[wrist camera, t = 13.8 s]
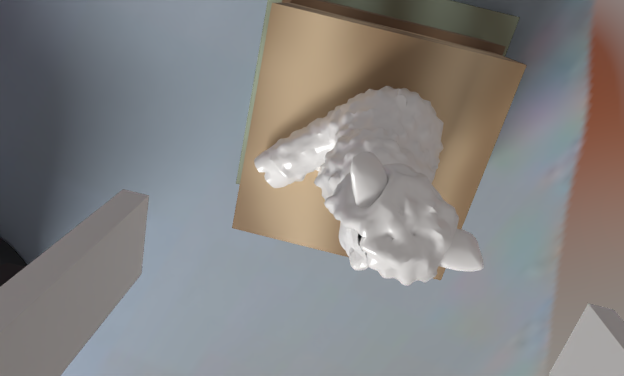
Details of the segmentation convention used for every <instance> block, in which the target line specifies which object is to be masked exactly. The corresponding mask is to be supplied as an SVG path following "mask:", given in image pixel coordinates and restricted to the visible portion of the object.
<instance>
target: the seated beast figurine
mask: <svg viewBox="0 0 624 376" xmlns="http://www.w3.org/2000/svg"><path fill="white" fill-rule="evenodd" d="M443 124H444V123H443V122H442V121H441V120H440V119H439V118H438V117H437V116H436V111H435V109H434V108H433V107H432V106H431V102H430V101H428V100H424V99H422V98H421V97H420V96H419V94H418V93H416V92H411V91H409V90H408V89H407V88H402V89H399V88H398V89H394V88H392V87H390V86H385V87H383V88H381V89H380V90H372V89H368V90H367V91H366V92H365V93H360V94H358V95H356V96H355V97H354V98H350V99H348V101H347V103H346V104H342V105H339V106H336V107H335V109H334V110H331V111H329V112H328V114H327V116H326V117H324V118H317V119H315V120H314V121H312V122H311V123H309V124H308V126H307V127H303V128H302V129H299V130H296V131H294V132H292V133H291V135H290V136H289V137H287V138H281V139H279V140H278V141H277V143H275V144H274V145H273V146H272V147H270V148H269V149H267V150H265V151H263V152H262V153H261V154H260V155H258V156H257V157H256V158H255V159H254V164H255V167H256V168H257V170H258V171H259V172H265V175H264V177H265V180H266V181H267V182H268V183H269V184H270V185H271V186H272V187H273V188H281V187H285V186H287V185H288V184H292V183H293V182H295V181H303V180H304V178H305V176H306V174H307V173H310V172H314V171H315V170H317V171H319V172H318V176H317V177H316V179H315V181H314V184H315V185H316V186H318V187H320V188H321V189H322V197H323V198H324V199H325V202H324V205H325V207H326V208H327V209H328V210H329V212H330V213H332V214H334V217H335V219H336V220H340V230H339V235H338V236H339V241H340V244H341V246H342V247H343V249H344V250H346V253H347V255H348V256H349V259H350V263H351V266H352V268H353V269H355V270H357V271H358V270H365V269H367V268H368V267H369V268H372V269H374V270H377V271H378V272H379V273H380V275H381V276H382V277H383V278H396V279H397V280H399V281H400V282H401V284H403V285H406V286H408V285H411V284H412V283H413V282H414V281H417V280H420V281H422V282H425V283H426V282H427V281H428V280H430V279H432V278H434V277H435V276H436V275H437V269H438V267H439V266H440V267H444V268H448V269H453V270H457V271H478V270H481V269H482V268H484V267H483V259H482V255H481V252H480V249H479V245H478V242H477V240H476V238H475V237H474V236H473V235H472V234H471V233H469V232H467V231H465V230H462V229H457V225H458V221H459V217H458V215H457V214H456V210H455V207H453V206H451V205H450V204H448V203H447V202H446V201H445V200H444V199H443V198H442V197H441V195H440V193H439V192H438V191H437V190H436V189H435V188H434V187H433V185H432V184H431V183H432V181H433V180H434V177H435V173H436V169H438V164H439V162H440V160H439V153H440V152H441V151H442V150H443V149H444V148H443V145H442V142H441V136H442V131H443Z"/></svg>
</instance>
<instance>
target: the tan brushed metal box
mask: <svg viewBox="0 0 624 376" xmlns="http://www.w3.org/2000/svg"><path fill="white" fill-rule="evenodd" d="M519 18H520V17H516V16H512V15H508V14H504V13H500V12H496V11H492V10H488V9H483V8H479V7H475V6H471V5H467V4H463V3H459V2H455V1H451V0H268V2H267V8H266V14H265V19H264V25H263V31H262V37H261V42H260V48H259V54H258V60H257V65H256V71H255V77H254V83H253V89H252V94H251V100H250V106H249V112H248V117H247V123H246V129H245V135H244V140H243V146H242V152H241V158H240V163H239V169H238V175H237V181H236V184H240V186H239V192H238V198H237V203H236V209H235V215H234V220H233V226H232V228H234V229H238V230H242V231H246V232H250V233H254V234H258V235H262V236H266V237H270V238H274V239H278V240H282V241H286V242H290V243H294V244H298V245H302V246H306V247H310V248H314V249H318V250H322V251H326V252H330V253H334V254H338V255H342V256H346V257H349V256H348V255H347V253H346V250H344V249H343V247H342V246H341V244H340V241H339V236H338V235H339V230H340V220H336V219H335V217H334V214H332V213H330V212H329V210H328V209H327V208H326V207H325V205H324V202H325V199H324V198H323V197H322V189H321V188H320V187H318V186H316V185H315V184H314V181H315V179H316V177H317V176H318V172H319V171H317V170H315V171H314V172H310V173H307V174H306V176H305V178H304V180H303V181H295V182H293V183H292V184H288V185H287V186H285V187H281V188H273V187H272V186H271V185H270V184H269V183H268V182H267V181H266V180H265V177H264V175H265V172H259V171H258V170H257V168H256V167H255V164H254V159H255V158H256V157H257V156H258V155H260V154H261V153H262V152H263V151H265V150H267V149H269V148H270V147H272V146H273V145H274V144H275V143H277V141H278V140H279V139H281V138H287V137H289V136H290V135H291V133H292V132H294V131H296V130H299V129H302V128H303V127H307V126H308V124H309V123H311V122H312V121H314V120H315V119H317V118H324V117H326V116H327V114H328V112H329V111H331V110H334V109H335V107H336V106H339V105H342V104H346V103H347V101H348V99H350V98H354V97H355V96H356V95H358V94H360V93H365V92H366V91H367V90H368V89H372V90H380V89H381V88H383V87H385V86H390V87H392V88H394V89H398V88H399V89H402V88H407V89H408V90H409V91H411V92H416V93H418V94H419V96H420V97H421V98H422V99H424V100H428V101H430V102H431V106H432V107H433V108H434V109H435V111H436V116H437V117H438V118H439V119H440V120H441V121H442V122H443V123H444V124H443V131H442V136H441V142H442V145H443V148H444V149H443V150H442V151H441V152H440V153H439V160H440V162H439V164H438V169H436V173H435V177H434V180H433V181H432V183H431V184H432V185H433V187H434V188H435V189H436V190H437V191H438V192H439V193H440V195H441V197H442V198H443V199H444V200H445V201H446V202H447V203H448V204H450V205H451V206H453V207H455V210H456V214H457V215H458V217H459V221H458V225H457V229H461V228H462V226H463V223H464V221H465V218H466V216H467V213H468V211H469V208H470V206H471V203H472V201H473V198H474V196H475V193H476V191H477V188H478V186H479V183H480V181H481V178H482V176H483V173H484V171H485V168H486V166H487V163H488V161H489V158H490V156H491V153H492V151H493V148H494V146H495V143H496V141H497V138H498V136H499V133H500V131H501V128H502V126H503V123H504V121H505V118H506V116H507V113H508V111H509V108H510V106H511V103H512V101H513V98H514V95H515V93H516V90H517V88H518V85H519V83H520V80H521V78H522V75H523V73H524V70H525V68H526V65H525V64H523V63H520V62H517V61H515V60H512V59H509V58H507V57H505V55H506V52H507V50H508V47H509V44H510V42H511V39H512V37H513V34H514V31H515V29H516V26H517V23H518V21H519ZM444 271H445V268H444V267H440V266H439V267H438V269H437V275H436V276H435V277H434V279H438V280H441V278H442V276H443V273H444Z"/></svg>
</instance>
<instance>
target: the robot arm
mask: <svg viewBox="0 0 624 376" xmlns="http://www.w3.org/2000/svg"><path fill="white" fill-rule="evenodd" d="M148 199H149V195H145V194H141V193H137V192H132V191H128V190H124V189H123V190H122V191H120V192H119V193H118V194H117V195H115V196H114V197H113V198H112V199H110V200H109V201H108V202H107V203H105V204H104V205H103V206H101V207H100V208H99V209H98V210H96V211H95V212H94V213H93V214H91V215H90V216H89V217H88V218H86V219H85V220H84V221H83V222H81V223H80V224H79V225H78V226H76V227H75V228H74V229H73V230H71V231H70V232H69V233H67V234H66V235H65V236H64V237H62V238H61V239H60V240H59V241H57V242H56V243H55V244H54V245H52V246H51V247H50V248H49V249H47V250H46V251H45V252H44V253H42V254H41V255H40V256H38V257H37V258H36V259H35V260H33V261H32V262H31V263H30V264H28V265H26V264H25V263H24V261H23V260H22V259H21V257H20V256H19V255H18V254H17V253H16V252H15V251H14V250H13V249H12V248H11V247H10V246H9V245H8V244H7V243H6V242H4V241H3V240H2V239H0V376H60V375H61V374H62V373H63V372H64V370H65V369H66V368H67V367H68V365H69V364H70V363H71V362H72V360H73V359H74V358H75V357H76V355H77V354H78V353H79V352H80V350H81V349H82V348H83V347H84V345H85V344H86V343H87V342H88V340H89V339H90V338H91V337H92V335H93V334H94V333H95V332H96V330H97V329H98V328H99V327H100V325H101V324H102V323H103V322H104V320H105V319H106V318H107V317H108V315H109V314H110V313H111V312H112V310H113V309H114V308H115V306H116V305H117V304H118V303H119V301H120V300H121V299H122V298H123V296H124V295H125V294H126V293H127V291H128V290H129V289H130V288H131V286H132V285H133V284H134V283H135V281H136V280H137V279H138V278H139V276H140V275H141V273H142V262H143V252H144V241H145V231H146V220H147V210H148ZM549 375H550V376H624V321H623V320H622V319H621V317H620V316H619V315H618V314H617V313H616V311H615V310H613V309H609V308H605V307H601V306H597V305H593V304H588V305H587V307H586V309H585V310H584V312H583V314H582V316H581V318H580V320H579V321H578V323H577V325H576V326H575V328H574V330H573V332H572V334H571V335H570V337H569V339H568V341H567V343H566V344H565V346H564V348H563V350H562V352H561V353H560V355H559V357H558V359H557V360H556V362H555V364H554V366H553V368H552V369H551V371H550V373H549Z"/></svg>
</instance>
